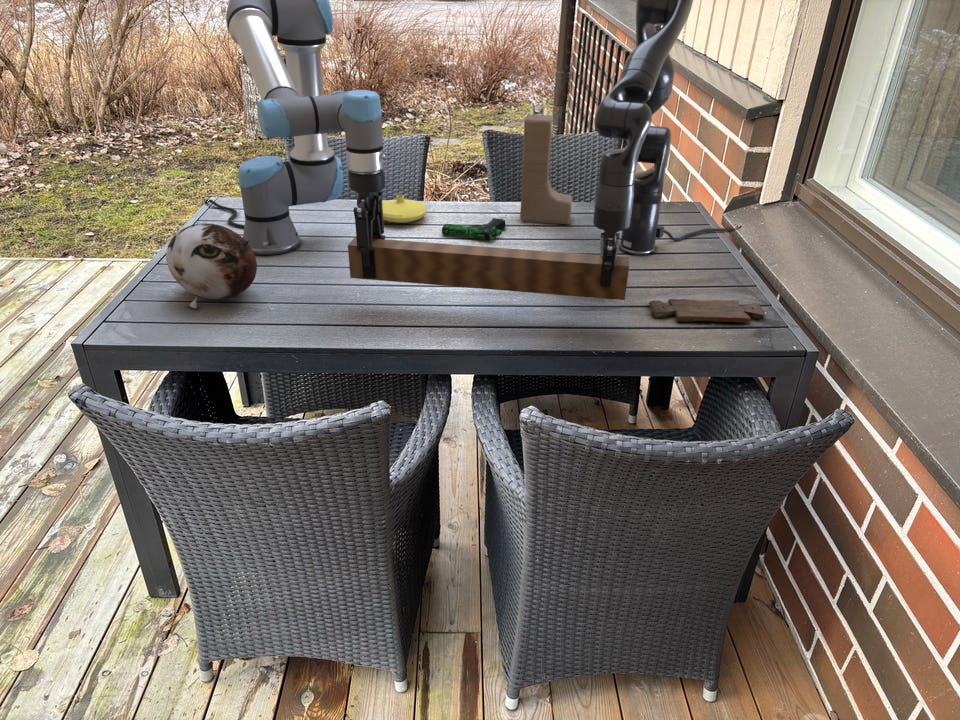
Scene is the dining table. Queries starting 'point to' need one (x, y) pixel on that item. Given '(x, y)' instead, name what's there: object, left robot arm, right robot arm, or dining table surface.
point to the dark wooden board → (706, 310)
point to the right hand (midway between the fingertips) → (605, 280)
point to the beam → (492, 268)
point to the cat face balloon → (211, 261)
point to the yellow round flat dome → (403, 210)
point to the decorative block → (540, 176)
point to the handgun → (476, 230)
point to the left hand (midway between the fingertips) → (373, 272)
